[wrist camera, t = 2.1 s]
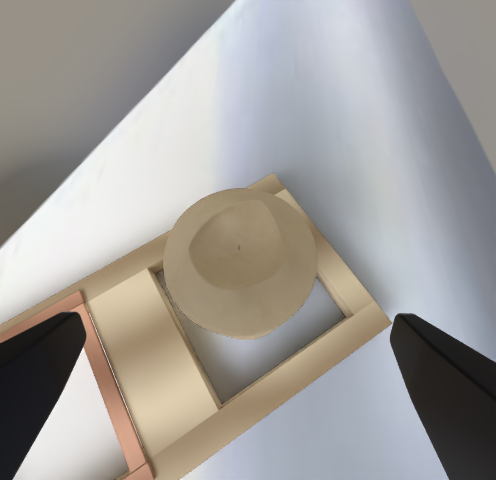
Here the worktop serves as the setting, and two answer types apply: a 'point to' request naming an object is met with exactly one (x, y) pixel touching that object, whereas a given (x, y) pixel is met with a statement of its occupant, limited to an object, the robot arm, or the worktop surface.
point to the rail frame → (190, 356)
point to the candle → (240, 263)
